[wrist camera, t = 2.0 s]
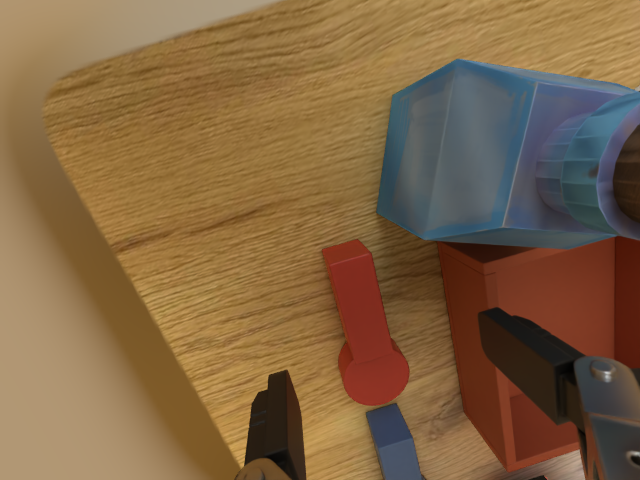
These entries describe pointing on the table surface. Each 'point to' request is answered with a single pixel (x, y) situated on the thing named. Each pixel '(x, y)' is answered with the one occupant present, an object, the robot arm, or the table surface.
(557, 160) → the perfume bottle
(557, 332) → the terracotta bin
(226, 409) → the table surface
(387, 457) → the blue spoon
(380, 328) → the red spoon
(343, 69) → the table surface
